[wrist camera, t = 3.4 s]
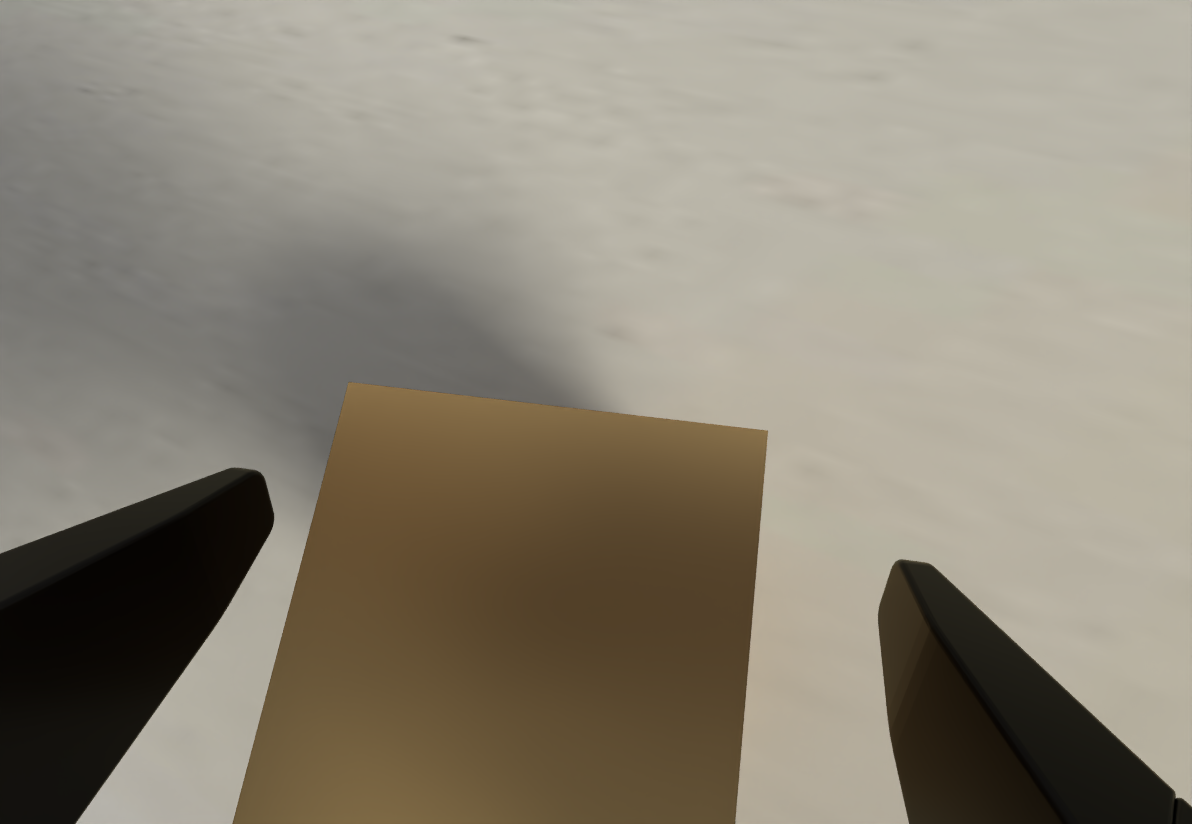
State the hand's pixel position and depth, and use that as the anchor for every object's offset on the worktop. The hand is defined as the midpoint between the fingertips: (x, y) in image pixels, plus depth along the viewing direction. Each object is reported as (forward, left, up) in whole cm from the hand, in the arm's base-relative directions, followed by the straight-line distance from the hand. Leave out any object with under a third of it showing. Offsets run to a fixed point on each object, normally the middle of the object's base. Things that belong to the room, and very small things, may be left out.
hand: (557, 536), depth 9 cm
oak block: (-1, -1, -7) cm, 7 cm away
